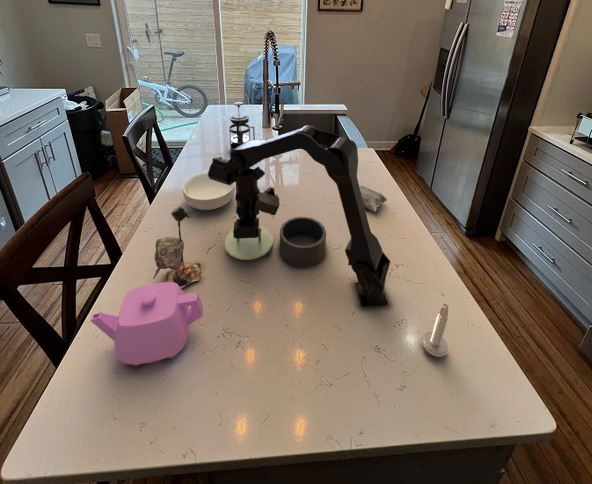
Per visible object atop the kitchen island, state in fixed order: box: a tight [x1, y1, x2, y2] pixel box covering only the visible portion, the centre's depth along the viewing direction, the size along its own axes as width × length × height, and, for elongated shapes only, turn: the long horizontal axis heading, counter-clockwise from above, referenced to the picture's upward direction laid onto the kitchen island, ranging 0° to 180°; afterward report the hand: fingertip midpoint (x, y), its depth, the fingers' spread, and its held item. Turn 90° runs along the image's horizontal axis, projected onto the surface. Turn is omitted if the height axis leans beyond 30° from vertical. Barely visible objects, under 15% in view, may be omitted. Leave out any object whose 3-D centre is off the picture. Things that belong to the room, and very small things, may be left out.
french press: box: [228, 101, 256, 154], centre depth 143 cm, size 12×9×23 cm
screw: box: [421, 303, 449, 358], centre depth 65 cm, size 13×5×5 cm
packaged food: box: [359, 185, 388, 212], centre depth 113 cm, size 9×12×5 cm
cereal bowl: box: [182, 172, 236, 211], centre depth 111 cm, size 17×17×7 cm
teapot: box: [89, 281, 204, 366], centre depth 66 cm, size 20×12×13 cm, turn 104°
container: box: [279, 216, 327, 268], centre depth 92 cm, size 13×13×6 cm
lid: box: [223, 225, 274, 261], centre depth 92 cm, size 14×14×5 cm
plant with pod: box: [152, 206, 202, 289], centre depth 79 cm, size 8×11×20 cm
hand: (248, 235), depth 92 cm, fingers closed on lid
